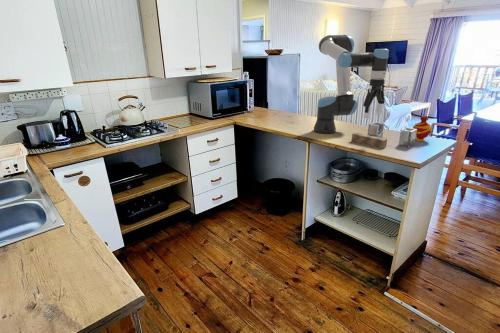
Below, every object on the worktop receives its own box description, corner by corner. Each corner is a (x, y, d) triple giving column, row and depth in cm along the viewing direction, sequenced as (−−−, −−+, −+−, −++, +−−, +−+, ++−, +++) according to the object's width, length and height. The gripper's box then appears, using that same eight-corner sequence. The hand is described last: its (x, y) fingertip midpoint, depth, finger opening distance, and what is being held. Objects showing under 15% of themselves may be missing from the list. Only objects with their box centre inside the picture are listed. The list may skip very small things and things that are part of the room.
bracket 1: (382, 137, 190) (384, 123, 186) (375, 139, 184) (377, 125, 181) (373, 135, 194) (375, 122, 190) (366, 137, 189) (368, 124, 185)
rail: (351, 141, 183) (352, 133, 181) (354, 140, 185) (355, 132, 183) (382, 148, 169) (384, 140, 167) (385, 147, 171) (387, 139, 169)
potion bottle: (419, 143, 176) (424, 118, 171) (406, 138, 186) (411, 115, 180) (433, 141, 179) (439, 117, 173) (420, 137, 188) (425, 114, 183)
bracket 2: (398, 144, 175) (400, 129, 171) (404, 141, 180) (407, 127, 176) (408, 146, 170) (411, 131, 167) (414, 143, 175) (417, 129, 172)
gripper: (372, 80, 153) (367, 120, 161) (394, 77, 168) (388, 114, 176) (359, 79, 158) (355, 118, 166) (381, 76, 173) (376, 112, 181)
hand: (372, 116), depth 171 cm, fingers open, 13 cm apart
